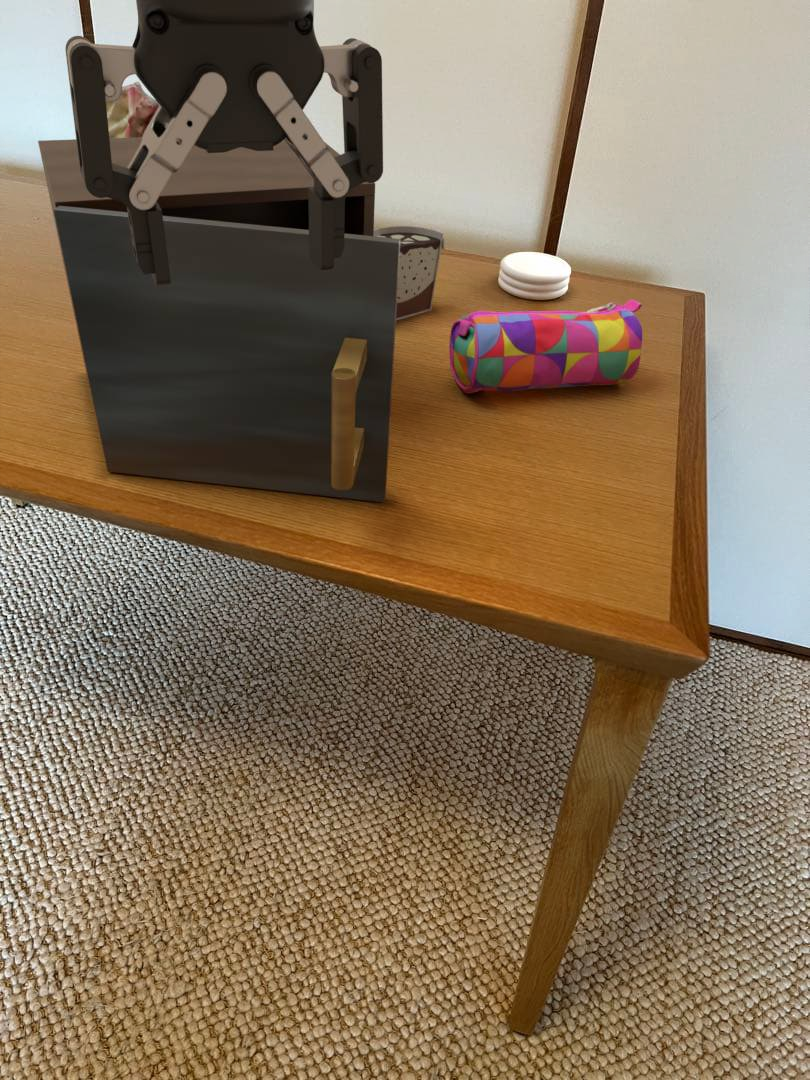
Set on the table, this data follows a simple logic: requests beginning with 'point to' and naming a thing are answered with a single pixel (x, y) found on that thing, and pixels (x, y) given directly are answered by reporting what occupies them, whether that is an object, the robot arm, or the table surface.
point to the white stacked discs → (534, 275)
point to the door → (237, 353)
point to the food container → (415, 267)
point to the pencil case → (546, 348)
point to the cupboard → (212, 187)
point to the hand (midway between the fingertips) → (244, 271)
